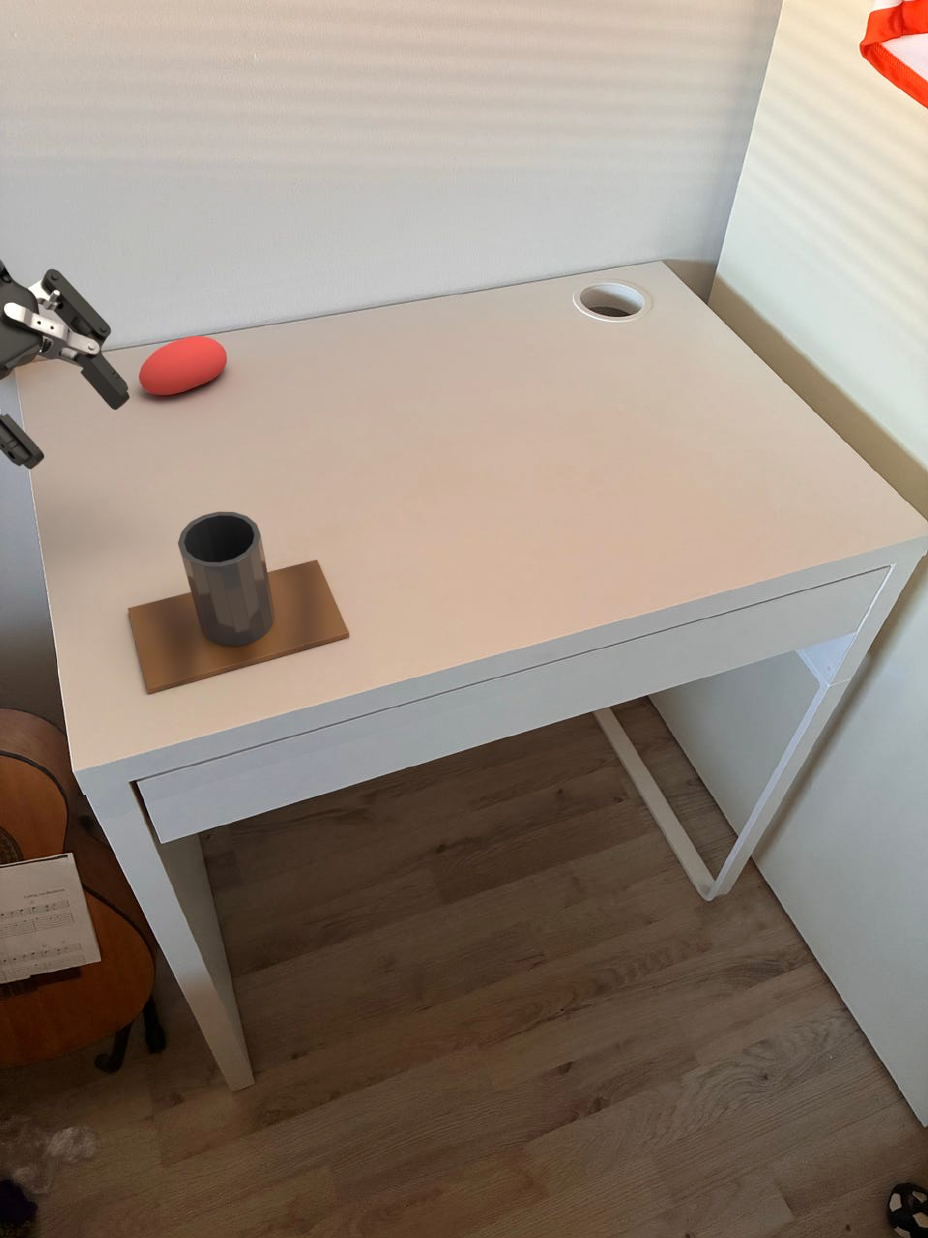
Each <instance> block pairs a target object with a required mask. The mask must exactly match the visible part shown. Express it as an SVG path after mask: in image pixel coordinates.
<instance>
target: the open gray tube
mask: <svg viewBox="0 0 928 1238" xmlns="http://www.w3.org/2000/svg"><path fill="white" fill-rule="evenodd" d="M177 546H178V549H179V553H180V556H181V561H182V564H183V567H184V568H183V569H184V572H185V576H186V579H187V583H188V586H189V590H190V592H191V594H192V597H193V601H194V605H195V608H196V612H197V616H198V619H199V623H200V626H201V630H202V632H203V634H204V635H205V636H206V637H207V638H208V639H209V640H210V641H212V642H214V643H216V644H218V645H222V646H227V647H238V646H244V645H248V644H251V643H253V642H255V641H257V640H259V639H260V638H262V637H263V636H264V635H265V634H266V633H267V632H268V631H269V630H270V628H271V627H272V624H273V622H274V606H273V600H272V595H271V589H270V584H269V578H268V573H267V572H268V568H267V562H266V557H265V556H266V555H265V551H264V545H263V541H262V535H261V531H260V529H259V526H258V524H257V522H255V521H254V520H253V519H251V518H250V517H249V516H248V515H245V514H243V513H238V512H235V511H215V512H211V513H210V512H209V513H207V514H203V515H201V516H199V517H197V518H195V519H193V520H192V521H190V522H189V523H187V525H186V526H185V527H184V528H183V529H182V530H181V532H180V535H179V537H178V541H177Z"/></svg>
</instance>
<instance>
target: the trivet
mask: <svg viewBox="0 0 928 1238" xmlns="http://www.w3.org/2000/svg"><path fill="white" fill-rule="evenodd" d="M267 573H268V578H269V584H270V589H271V595H272V600H273V606H274V622H273V624H272V627H271V628H270V630H269V631H268V632H267V633H266V634H265V635H264V636H263V637H262V638H260V639H259V640H257V641H255V642H253V643H251V644H248V645H244V646H238V647H227V646H222V645H218V644H216V643H214V642H212V641H210V640H209V639H208V638H207V637H206V636H205V635H204V634H203V632H202V630H201V626H200V623H199V619H198V616H197V612H196V608H195V605H194V601H193V597H192V594H191V591H189V592H186V593H181V594H177V595H174V596H170V597H169V596H168V597H165V598H162V599H158V600H154V601H150V602H145V603H143V604H139V605H138V604H137V605H134V606H131V607H128V608H127V611H128V617H129V619H130V623H131V628H132V632H133V636H134V640H135V641H134V642H135V645H136V648H137V653H138V657H139V661H140V665H141V670H142V673H143V679H144V683H145V687H146V690H147V693H148V695H149V694H153V693H157V692H161V691H165V690H169V689H171V688H175V687H178V686H181V685H185V684H189V683H192V682H193V683H194V682H196V681H199V680H203V679H207V678H210V677H213V676H216V675H220V674H224V673H227V672H231V671H234V670H235V671H236V670H238V669H241V668H245V667H248V666H253V665H256V664H259V663H263V662H266V661H270V660H274V659H277V658H280V657H284V656H287V655H291V654H294V653H298V652H301V651H306V650H309V649H311V648H312V649H313V648H316V647H319V646H322V645H326V644H331V643H333V642H337V641H340V640H343V639H347V638H350V631H349V630H348V626H347V625H346V622H345V620H344V618H343V615H342V613H341V611H340V607H339V606H338V604H337V601H336V600H335V597H334V595H333V593H332V590H331V588H330V585H329V584H328V581H327V578H326V577H325V574H324V571H323V569H322V567H321V564H320V563H319V560H318V559H314V560H309V561H305V562H300V563H297V564H294V565H289V566H286V567H282V568H278V569H274V570H271V571H267Z"/></svg>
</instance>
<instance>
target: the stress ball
mask: <svg viewBox="0 0 928 1238" xmlns="http://www.w3.org/2000/svg"><path fill="white" fill-rule="evenodd" d="M227 354H228V353H227V351H226V349H225V347H224V346H223V344H221V343H220V342H219V341H217V340H216V339H215V338H212V337H207V336H205V335H204V336H203V335H191V336H188V337H183V338H180V339H177V340H175V341H174V340H173V341H172V342H169V343H167V344H165V345H163V346H160V347H159V348H158V349H157V350H155V351H154V352H153V353H151V354H150V356H149V357H147V358H146V359H145V361H144V362H143V364H142V365H141V367H140V371H139V373H138V380H139V384H140V385H141V387H142V388H143V389H144V390H145V391H146V392H147V393H149V394H151V395H157V396H171V395H175V394H176V395H177V394H179V393H184V392H186V391H189V390H191V389H193V388H197V387H199V386H202V385H205V384H206V383H209V382H210V381H212V380H214V379H215V378H217V377H218V376H219V375H220V374H221V373H222V372H223V371H224V369H225V368H226V366H227V363H228V355H227Z"/></svg>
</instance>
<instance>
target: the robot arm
mask: <svg viewBox="0 0 928 1238" xmlns="http://www.w3.org/2000/svg"><path fill="white" fill-rule="evenodd" d="M39 305H41V306H42V307H43V308H44V310H46V311H53V312H54V313H55V314H56V316H58V318H59V319H60V320H61V321H62V322H63V323H61V322H59V321H56V320H54V319H51V318H48V317H46V316H44V315H41V314H40V307H39ZM111 333H112V329H111V326H110V324H108V323H107V321H106V320H105V319H104V318H103V317H102V315H100V314H99V313H98V311H96V309H94V307H92V305H91V304H90V303H89V302H88V301H87V300H86V298H84V296H82V294H80V292H79V291H78V290H77V289H76V288H75V287H74V286H73V285H72V283H70V281H68V279H67V278H66V277H65V276H64V274H62V273H61V271H59V270H58V269H56V268H49V269H48V270H47V271H46V272H45V273H44V274H43V275H42V277H41V279H39V280H38V281H37V282H35V283H34V284H32V285H31V286H29V287H26V286H24V285H22V284H20V283H18V282H17V281H16V280H15V279H14V278H13V277H12V275H11V274H10V272H9V271H8V269H7V267H6V265H5V263H4V262H3V261H2V259H0V381H2V380H4V379H5V378H7V377H8V376H10V375H11V374H12V372H13V371H14V370H15V368H18V367H22V366H26V365H28V364H29V363H31V362H33V361H34V360H35V359H36V358H37V356H39V357H42V358H44V359H48V360H60V361H63V362H65V363H68V364H71V365H74V366H76V367H80V368H82V369H81V371H80V372H79V373H80V374H81V375H82V377H83V378H84V379H85V380H86V381H87V382H88V384H90V385H91V387H92V389H94V390H95V391H96V392H97V394H98V395H99V396H100V397H101V398H102V399H103V400H104V402H105V403H106V404H107V405H108V406H109V407H110V409H111V410H114V411H117V410H118V409H120V408H122V407H123V406H124V405H125V404H126V403H127V402H128V401H129V400H130V397H131V396H130V394H129V392H128V390H129V386H128V384H127V382H126V381H125V380H124V378H123V377H122V376H121V374H119V372H118V371H117V370H116V369H115V368H114V367H113V365H112V364H111V363H110V362H109V361H108V360H107V358H106V357H105V356H104V354H103V352H102V348H103V345H104V344H105V342H106V340H107V338H108V337H109V336H110V335H111ZM0 451H1V452H2V453H3V455H5V456H6V458H7V459H8V460H9V461H10V462H11V463H12V464H14V465H16V466H17V467H21V466H22V465H23V466H24V467H25V468H26V469H28V470H33V469H34V468H35V467H37V466H38V465H40V463H41V462H43V460H44V459H45V454H44V452H43V451H42V449H40V447H39V446H38V445H37V444H36V443H35V442H34V440H33V439H31V437H30V436H29V435H28V434H27V433H26V432H25V430H23V428H22V427H21V426H20V425H19V424H18V423H17V422H16V421H15V420H14V419H13V418H12V417H11V415H9V413H6V414H4V415H3V413H2V411H1V408H0Z"/></svg>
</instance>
